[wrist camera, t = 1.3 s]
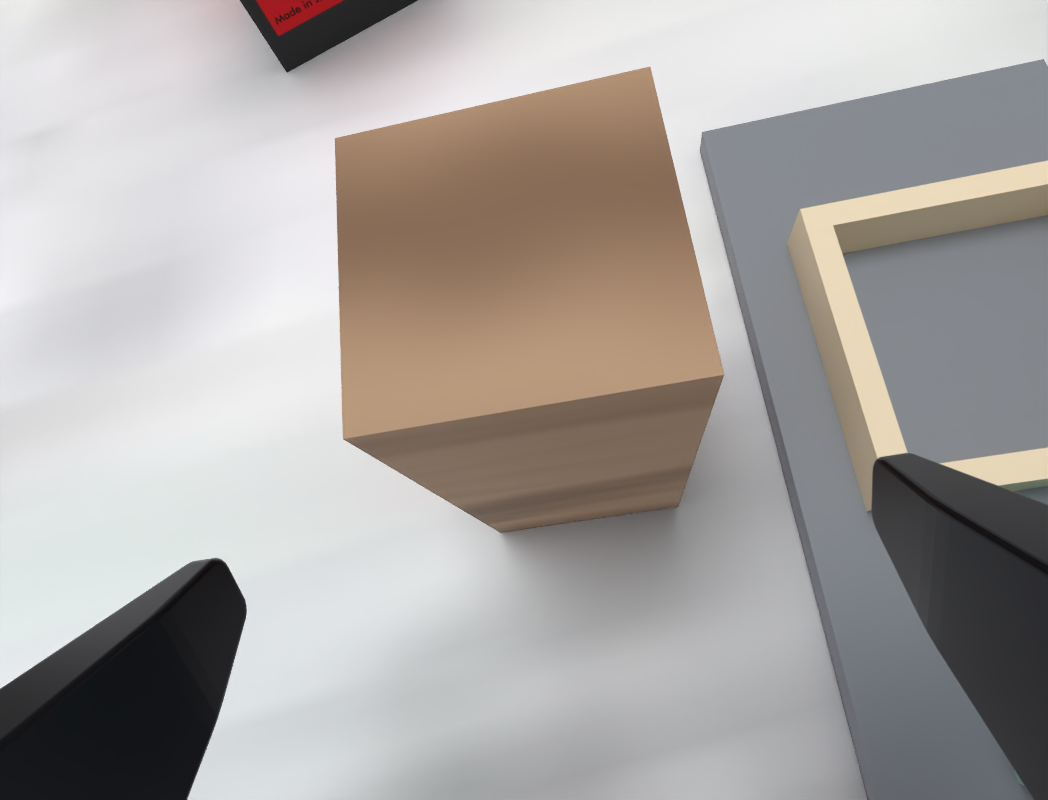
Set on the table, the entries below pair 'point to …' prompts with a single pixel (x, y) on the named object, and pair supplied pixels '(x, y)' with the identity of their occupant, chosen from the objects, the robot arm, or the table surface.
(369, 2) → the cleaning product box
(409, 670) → the table surface
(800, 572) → the table surface
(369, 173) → the pillar
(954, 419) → the board
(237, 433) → the table surface
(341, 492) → the table surface
